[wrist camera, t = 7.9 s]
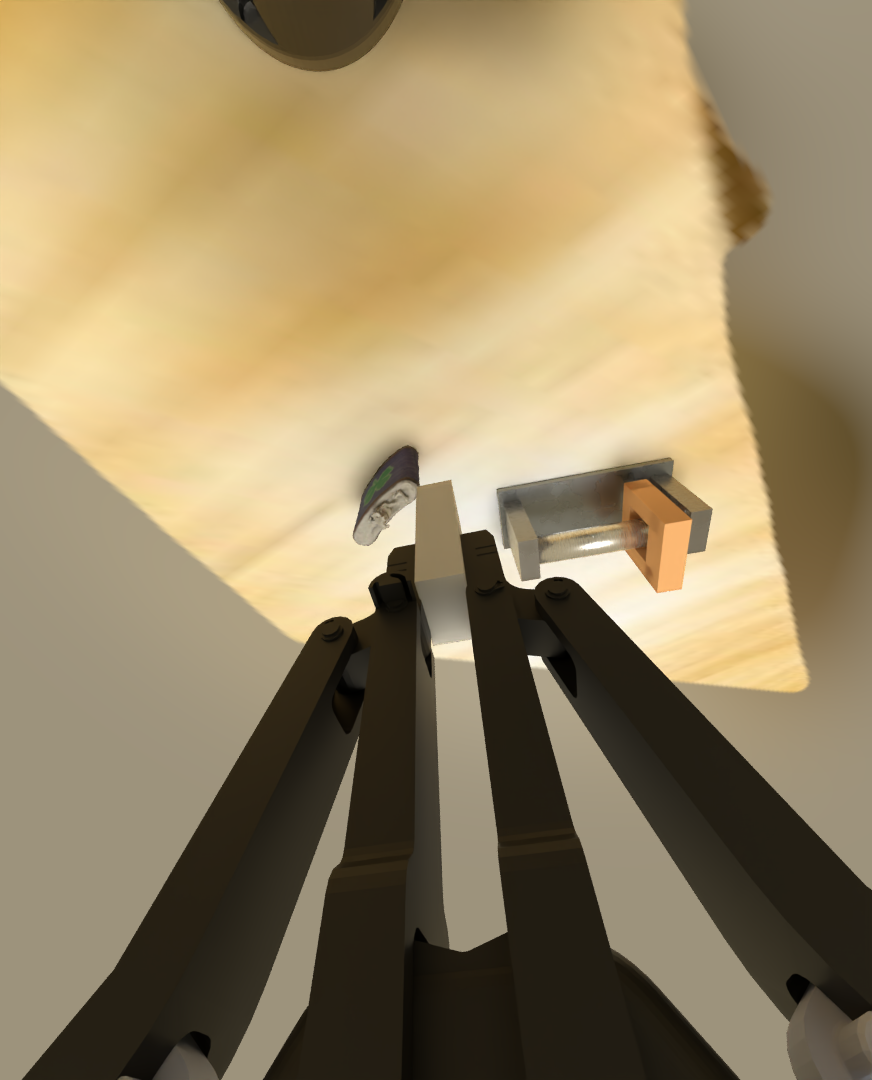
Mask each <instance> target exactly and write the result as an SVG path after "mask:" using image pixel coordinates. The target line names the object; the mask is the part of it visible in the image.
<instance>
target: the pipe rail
mask: <svg viewBox="0 0 872 1080" xmlns="http://www.w3.org/2000/svg"><path fill="white" fill-rule="evenodd" d="M673 462H674V460H672V459H671V458H667V459H661V460H656V461H650V462H645V463H639V464H634V465H628V466H623V467H617V468H612V469H606V470H601V471H595V472H590V473H584V474H578V475H573V476H567V477H562V478H556V479H551V480H545V481H540V482H534V483H529V484H523V485H518V486H512V487H507V488H501V489H497V496H498V505H499V513H500V521H501V529H502V538H503V546H504V549H507V548H511V551H512V554H513V557H514V560H515V563H516V566H517V569H518V572H519V575H520V578H521V581H527V580H533V579H539V578H540V564H545V563H551V562H557V561H563V560H569V559H575V558H581V557H587V556H593V555H599V554H605V553H611V552H617V551H623V550H629V549H635V548H641V547H647V542H648V531H649V525H648V524H647V523H646V522H645V521H644V520H643V519H642V518H639V519H634V520H628V521H622V511H623V492H624V483H627V482H633V481H638V480H644V479H647V480H648V481H649V482H651V483H652V484H653V485H654V486H655V487H656V488H657V489H658V490H660V491H661V492H662V493H663V494H664V495H665V496H666V497H667V498H669V499H670V500H671V501H672V502H673V503H674V504H675V505H676V506H678V507H679V508H680V509H681V510H682V511H683V512H684V513H685V514H687V515H688V516H689V517H690V518H691V519H692V525H691V531H690V538H689V544H688V551H687V554H691V553H697V552H703V551H705V549H706V543H707V537H708V532H709V526H710V521H711V515H712V508H711V507H710V506H708V505H707V504H706V503H705V502H703V501H702V500H701V499H700V498H698V497H697V496H696V495H694V494H693V493H692V492H691V491H689V490H688V489H687V488H686V487H684V486H683V485H682V484H681V483H679V482H678V481H677V480H676V479H674V478H673V477H672V471H673Z"/></svg>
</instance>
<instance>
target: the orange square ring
mask: <svg viewBox="0 0 872 1080" xmlns="http://www.w3.org/2000/svg"><path fill="white" fill-rule="evenodd" d="M639 518H642V519H643V520H644V521H645V522H646V523H647V524H648V525H649V531H648V542H647V547H641V548H635V549H629V550H625V551H626V552H627V554H628V555H629V556H630V558H631V559H632V560H633V562H634V563H635V564H636V566H637V567H638V568H639V570H640V571H641V572H642V574H643V575H644V576H645V578H646V579H647V580H648V582H649V583H650V584H651V586H652V587H653V588H654V590H655V591H656V592H657V593H660V592H666V591H673V590H679V589H682V584H683V577H684V571H685V564H686V557H687V551H688V544H689V538H690V531H691V525H692V519H691V518H690V517H689V516H688V515H687V514H685V513H684V512H683V511H682V510H681V509H680V508H679V507H678V506H676V505H675V504H674V503H673V502H672V501H671V500H670V499H669V498H667V497H666V496H665V495H664V494H663V493H662V492H661V491H660V490H658V489H657V488H656V487H655V486H654V485H653V484H652V483H651V482H649V481H648V480H647V479H644V480H638V481H633V482H627V483H624V492H623V511H622V521H628V520H634V519H639Z"/></svg>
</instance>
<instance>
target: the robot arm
mask: <svg viewBox="0 0 872 1080" xmlns="http://www.w3.org/2000/svg"><path fill="white" fill-rule="evenodd" d="M219 1H220V2H221V4H222V5H223V7H224V8H225V9H226V11H227V12H228V14H229V15H230V16H231V18H232V19H233V20H234V21H235V23H236V24H237V25H238V26H239V28H240V29H241V30H242V31H243V32H244V33H245V34H246V35H247V36H248V37H249V38H250V39H251V40H252V41H253V42H254V43H255V44H256V45H257V46H259V47H260V48H261V49H262V50H264V51H265V52H266V53H268V54H269V55H271V56H272V57H274V58H276V59H278V60H279V61H281V62H283V63H286V64H288V65H290V66H293V67H296V68H300V69H304V70H310V71H328V70H333V69H338V68H341V67H344V66H346V65H349V64H351V63H353V62H354V61H356V60H358V59H359V58H361V57H362V56H364V55H365V54H366V53H367V52H368V51H370V50H371V49H372V48H373V47H374V46H375V45H376V44H377V42H378V41H379V40H380V39H381V38H382V36H383V35H384V34H385V32H386V31H387V29H388V28H389V26H390V25H391V23H392V21H393V19H394V17H395V15H396V14H397V12H398V9H399V7H400V5H401V2H402V0H219ZM368 589H369V591H370V594H371V597H372V599H373V602H374V605H375V607H376V610H375V613H373V614H372V615H371V616H369V617H367V618H365V619H363V620H360V621H358V622H356V623H352V621H351V620H349V619H348V618H346V617H334V618H330V619H328V620H326V621H324V622H322V623H321V624H320V625H318V626H317V627H316V628H315V630H314V631H313V632H312V634H311V636H310V637H309V639H308V641H307V642H306V644H305V646H304V648H303V649H302V651H301V653H300V655H299V656H298V658H297V659H296V661H295V663H294V665H293V666H292V668H291V670H290V671H289V673H288V675H287V676H286V678H285V680H284V682H283V683H282V685H281V687H280V688H279V690H278V692H277V693H276V695H275V697H274V699H273V700H272V702H271V704H270V705H269V707H268V709H267V710H266V712H265V714H264V716H263V717H262V719H261V721H260V722H259V724H258V726H257V727H256V729H255V731H254V733H253V734H252V736H251V738H250V739H249V741H248V743H247V744H246V746H245V748H244V750H243V751H242V753H241V755H240V756H239V758H238V760H237V761H236V763H235V765H234V767H233V768H232V770H231V772H230V773H229V775H228V777H227V778H226V780H225V782H224V784H223V785H222V787H221V789H220V790H219V792H218V794H217V795H216V797H215V799H214V801H213V802H212V804H211V806H210V807H209V809H208V811H207V813H206V814H205V816H204V818H203V819H202V821H201V823H200V824H199V826H198V828H197V829H196V831H195V833H194V835H193V836H192V838H191V840H190V841H189V843H188V845H187V846H186V848H185V850H184V852H183V853H182V855H181V857H180V858H179V860H178V862H177V863H176V865H175V867H174V869H173V870H172V872H171V874H170V875H169V877H168V879H167V881H166V882H165V884H164V886H163V887H162V889H161V891H160V892H159V894H158V896H157V897H156V899H155V901H154V902H153V904H152V906H151V908H150V909H149V911H148V913H147V914H146V916H145V918H144V919H143V921H142V923H141V925H140V926H139V928H138V930H137V931H136V933H135V935H134V936H133V938H132V940H131V942H130V943H129V945H128V947H127V948H126V950H125V952H124V954H123V955H122V957H121V959H120V960H119V962H118V964H117V965H116V967H115V969H114V970H113V972H112V973H111V974H110V975H109V976H108V977H107V979H106V980H105V981H104V982H103V983H102V985H101V986H100V987H99V988H98V989H97V991H96V992H95V993H94V994H93V995H92V996H91V998H90V999H89V1000H88V1001H87V1003H86V1004H85V1005H84V1006H83V1007H82V1008H81V1010H80V1011H79V1012H78V1013H77V1014H76V1016H75V1017H74V1018H73V1019H72V1020H71V1022H70V1023H69V1024H68V1025H67V1026H66V1028H65V1029H64V1030H63V1032H61V1034H60V1035H59V1036H58V1037H57V1038H56V1040H55V1041H54V1042H53V1043H52V1044H51V1045H50V1047H49V1048H48V1049H47V1050H46V1051H45V1053H44V1054H43V1055H42V1056H41V1057H40V1059H39V1060H38V1061H37V1062H36V1063H35V1065H34V1066H33V1067H32V1068H31V1069H30V1071H29V1072H28V1073H27V1074H26V1075H25V1077H24V1078H23V1079H22V1080H221V1079H222V1077H223V1075H224V1073H225V1072H226V1070H227V1068H228V1066H229V1065H230V1063H231V1061H232V1059H233V1057H234V1055H235V1053H236V1051H237V1049H238V1047H239V1045H240V1043H241V1041H242V1039H243V1036H244V1034H245V1032H246V1030H247V1028H248V1026H249V1024H250V1022H251V1020H252V1017H253V1015H254V1012H255V1010H256V1007H257V1005H258V1002H259V1000H260V997H261V995H262V993H263V990H264V988H265V986H266V983H267V980H268V978H269V975H270V972H271V970H272V967H273V964H274V961H275V959H276V956H277V953H278V951H279V948H280V945H281V943H282V940H283V937H284V934H285V932H286V929H287V926H288V924H289V921H290V919H291V916H292V913H293V911H294V908H295V905H296V902H297V900H298V897H299V894H300V892H301V889H302V886H303V884H304V881H305V878H306V876H307V873H308V870H309V868H310V865H311V862H312V860H313V856H314V854H315V851H316V849H317V846H318V843H319V841H320V838H321V835H322V833H323V830H324V827H325V824H326V822H327V819H328V817H329V814H330V811H331V809H332V806H333V803H334V800H335V798H336V795H337V792H338V790H339V787H340V784H341V782H342V779H343V776H344V774H345V771H346V768H347V766H348V762H349V760H350V758H351V755H352V752H353V750H354V747H355V744H356V741H357V739H358V736H359V740H358V748H357V756H356V763H355V771H354V778H353V786H352V794H351V802H350V810H349V817H348V825H347V832H346V840H345V847H344V853H343V858H342V860H341V862H340V864H339V865H337V866H336V867H335V868H334V869H333V870H332V873H331V875H330V877H329V880H328V885H327V889H326V894H325V900H324V907H323V914H322V921H321V927H320V934H319V940H318V947H317V953H316V960H315V967H314V973H313V980H312V986H311V993H310V1000H309V1006H308V1007H307V1009H306V1010H305V1011H304V1013H303V1014H302V1016H301V1017H300V1019H299V1021H298V1022H297V1024H296V1025H295V1027H294V1029H293V1030H292V1032H291V1034H290V1035H289V1037H288V1039H287V1040H286V1042H285V1044H284V1046H283V1047H282V1049H281V1050H280V1052H279V1054H278V1056H277V1057H276V1059H275V1060H274V1062H273V1064H272V1065H271V1067H270V1069H269V1070H268V1072H267V1074H266V1076H265V1078H264V1079H263V1080H740V1079H739V1078H738V1076H737V1075H736V1074H735V1073H734V1072H733V1071H732V1070H731V1069H730V1068H729V1066H728V1065H727V1064H726V1063H725V1062H724V1061H723V1060H722V1059H721V1057H720V1056H719V1055H718V1054H717V1053H716V1052H715V1051H714V1050H713V1048H712V1047H711V1046H710V1045H709V1044H708V1043H707V1042H706V1041H705V1040H704V1038H703V1037H702V1036H701V1035H700V1034H699V1033H698V1032H697V1031H696V1029H695V1028H694V1027H693V1026H692V1025H691V1024H690V1023H689V1022H688V1020H687V1019H686V1018H685V1017H684V1016H683V1015H682V1014H681V1013H680V1011H679V1010H678V1009H677V1008H676V1007H675V1006H674V1005H673V1004H672V1003H671V1001H670V1000H669V999H668V998H667V997H666V996H665V995H664V994H663V992H662V991H661V990H660V989H659V988H658V987H657V986H656V985H655V984H654V983H653V982H652V981H651V979H650V978H649V977H648V976H646V975H645V974H644V973H643V972H642V971H641V970H640V969H639V968H638V967H637V966H635V965H634V964H633V963H632V962H631V961H629V960H628V959H626V958H625V957H624V956H622V955H621V954H620V953H618V952H616V951H614V950H613V949H611V948H610V945H609V941H608V938H607V935H606V930H605V927H604V923H603V920H602V916H601V912H600V909H599V905H598V902H597V898H596V895H595V891H594V887H593V884H592V880H591V877H590V873H589V869H588V865H587V862H586V858H585V855H584V852H583V848H582V845H581V842H580V840H579V837H578V836H577V834H576V832H575V829H574V826H573V822H572V819H571V815H570V812H569V808H568V804H567V800H566V797H565V793H564V789H563V786H562V782H561V778H560V775H559V771H558V767H557V763H556V760H555V756H554V752H553V749H552V745H551V741H550V737H549V734H548V730H547V726H546V723H545V719H544V715H543V712H542V708H541V704H540V700H539V697H538V693H537V689H536V686H535V682H534V679H533V675H532V671H531V667H530V663H529V660H528V656H527V655H532V656H541V657H542V660H543V662H544V663H545V665H546V666H547V668H548V670H549V671H550V673H551V674H552V676H553V677H554V679H555V680H556V682H557V683H558V685H559V686H560V688H561V689H562V691H563V692H564V694H565V696H566V697H567V698H568V700H569V702H570V703H571V705H572V706H573V708H574V709H575V711H576V712H577V714H578V715H579V717H580V718H581V720H582V722H583V723H584V725H585V726H586V727H587V729H588V731H589V732H590V733H591V735H592V737H593V738H594V740H595V741H596V743H597V744H598V746H599V747H600V749H601V751H602V752H603V754H604V755H605V757H606V758H607V760H608V761H609V763H610V764H611V766H612V767H613V769H614V770H615V772H616V773H617V775H618V777H619V778H620V779H621V781H622V783H623V784H624V786H625V787H626V789H627V790H628V792H629V793H630V795H631V796H632V798H633V799H634V801H635V802H636V804H637V805H638V807H639V808H640V810H641V811H642V813H643V815H644V816H645V818H646V819H647V821H648V822H649V824H650V825H651V827H652V828H653V830H654V831H655V833H656V834H657V836H658V837H659V839H660V841H661V842H662V844H663V845H664V847H665V848H666V850H667V851H668V853H669V854H670V856H671V857H672V859H673V861H674V862H675V864H676V865H677V867H678V868H679V870H680V871H681V873H682V874H683V876H684V877H685V879H686V880H687V882H688V883H689V885H690V886H691V888H692V890H693V891H694V893H695V894H696V896H697V897H698V899H699V900H700V902H701V903H702V905H703V906H704V908H705V909H706V911H707V912H708V914H709V915H710V917H711V919H712V920H713V922H714V923H715V925H716V926H717V928H718V929H719V931H720V932H721V934H722V935H723V937H724V938H725V940H726V941H727V943H728V944H729V945H730V947H731V948H732V950H733V951H734V952H735V954H736V955H737V957H738V958H739V960H740V961H741V962H742V964H743V965H744V967H745V968H746V970H747V971H748V972H749V973H750V975H751V976H752V978H753V979H754V980H755V981H756V982H757V984H758V985H759V986H760V987H761V989H762V990H763V991H764V992H765V993H766V995H767V996H768V997H769V998H770V1000H771V1001H772V1002H773V1003H774V1004H775V1006H776V1007H777V1008H778V1009H779V1010H780V1012H781V1013H782V1014H783V1015H784V1016H785V1017H786V1019H788V1021H789V1022H790V1023H789V1027H788V1031H787V1051H788V1054H789V1058H790V1062H791V1065H792V1069H793V1072H794V1074H795V1076H796V1078H797V1080H872V890H871V889H870V888H868V887H867V886H866V885H865V884H864V883H863V882H862V881H861V880H860V879H859V878H858V877H857V876H856V875H855V874H854V873H853V872H852V871H851V870H850V869H849V867H848V866H847V865H846V864H845V863H844V862H843V861H842V860H841V859H840V858H839V857H838V856H837V855H836V854H835V853H834V852H833V851H832V850H831V849H830V848H829V846H828V845H827V844H826V843H825V842H824V841H823V840H822V839H821V838H820V837H819V836H818V835H817V834H816V833H815V832H814V831H813V830H812V829H811V828H810V827H809V826H808V824H806V822H805V821H804V820H803V819H802V818H801V817H800V816H799V815H798V814H797V813H796V812H795V811H794V810H793V809H792V808H791V807H790V806H789V805H788V803H787V802H786V801H785V800H784V799H783V798H782V797H781V796H780V795H779V794H778V793H777V792H776V791H775V790H774V789H773V788H772V787H771V786H770V785H769V784H768V783H767V781H765V779H764V778H763V777H762V776H761V775H760V774H759V773H758V772H757V771H756V770H755V769H754V768H753V767H752V766H751V765H750V764H749V763H748V762H747V761H746V759H745V758H744V757H743V756H742V755H741V754H740V753H739V752H738V751H737V750H736V749H735V748H734V747H733V746H732V745H731V744H730V743H729V742H728V741H727V740H726V738H724V736H723V735H722V734H721V733H720V732H719V731H718V730H717V729H716V728H715V727H714V726H713V725H712V724H711V723H710V722H709V721H708V720H707V719H706V718H705V716H704V715H703V714H702V713H701V712H700V711H699V710H698V709H697V708H696V707H695V706H694V705H693V704H692V703H691V702H690V701H689V700H688V699H687V698H686V697H685V695H683V694H682V692H681V691H680V690H679V689H678V688H677V687H676V686H675V685H674V684H673V683H672V682H671V681H670V680H669V679H668V678H667V677H666V676H665V675H664V673H663V672H662V671H661V670H660V669H659V668H658V667H657V666H656V665H655V664H654V663H653V662H652V661H651V660H650V659H649V658H648V657H647V656H646V655H645V654H644V653H643V651H642V650H641V649H640V648H639V647H638V646H637V645H636V644H635V643H634V642H633V641H632V640H631V639H630V638H629V637H628V636H627V635H626V634H625V633H624V632H623V630H622V629H621V628H620V627H619V626H618V625H617V624H616V623H615V622H614V621H613V620H612V619H611V618H610V617H609V616H608V615H607V614H606V613H605V612H604V611H603V610H602V608H601V607H600V606H599V605H598V604H597V603H596V602H595V601H594V600H593V599H592V598H591V597H590V596H589V595H588V594H587V593H586V592H585V591H584V590H583V589H582V587H581V586H580V585H579V584H577V583H576V582H575V581H573V580H571V579H568V578H564V577H553V578H548V579H545V580H543V581H541V582H540V583H539V584H538V585H537V586H536V587H535V590H534V589H522V588H518V587H515V586H513V585H511V584H509V583H508V582H507V581H506V579H505V577H504V573H503V570H502V566H501V562H500V558H499V555H498V551H497V547H496V544H495V540H494V536H493V535H492V534H491V533H489V532H488V531H487V530H482V531H476V532H471V533H466V534H462V531H461V526H460V521H459V516H458V512H457V507H456V502H455V497H454V492H453V487H452V482H451V480H448V481H443V482H438V483H433V484H428V485H423V486H418V487H417V492H416V536H415V544H413V545H407V546H402V547H397V548H394V549H393V551H392V552H391V553H390V555H389V556H388V563H387V571H386V573H383V574H381V575H379V576H378V577H376V578H375V579H374V580H373V581H372V582H371V583H370V585H369V588H368ZM470 639H472V645H473V653H474V660H475V668H476V675H477V683H478V690H479V698H480V706H481V713H482V721H483V728H484V736H485V744H486V751H487V759H488V767H489V774H490V781H491V788H492V797H493V804H494V811H495V819H496V827H497V835H498V858H499V867H500V875H501V883H502V891H503V899H504V907H505V914H506V922H507V930H508V932H507V933H505V934H503V935H501V936H499V937H496V938H495V939H492V940H490V941H488V942H486V943H484V944H482V945H480V946H478V947H476V948H474V949H472V950H470V951H466V952H459V951H455V950H450V949H449V939H448V931H447V925H446V919H445V914H444V905H443V887H442V861H441V832H440V804H439V776H438V750H437V721H436V695H435V666H434V656H433V653H432V649H431V640H432V643H433V646H434V645H440V644H446V643H452V642H458V641H464V640H470Z"/></svg>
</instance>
